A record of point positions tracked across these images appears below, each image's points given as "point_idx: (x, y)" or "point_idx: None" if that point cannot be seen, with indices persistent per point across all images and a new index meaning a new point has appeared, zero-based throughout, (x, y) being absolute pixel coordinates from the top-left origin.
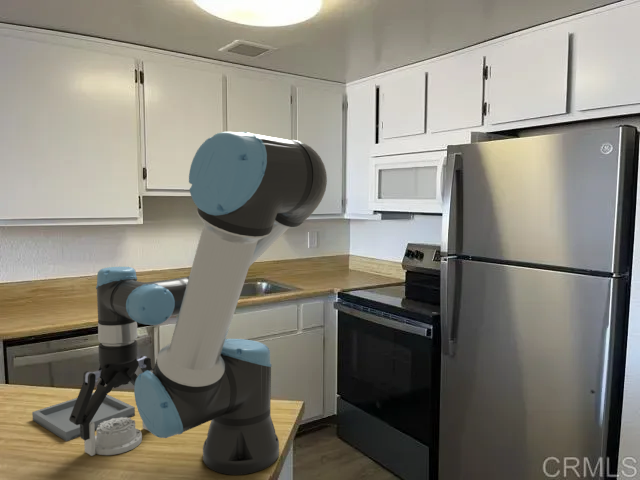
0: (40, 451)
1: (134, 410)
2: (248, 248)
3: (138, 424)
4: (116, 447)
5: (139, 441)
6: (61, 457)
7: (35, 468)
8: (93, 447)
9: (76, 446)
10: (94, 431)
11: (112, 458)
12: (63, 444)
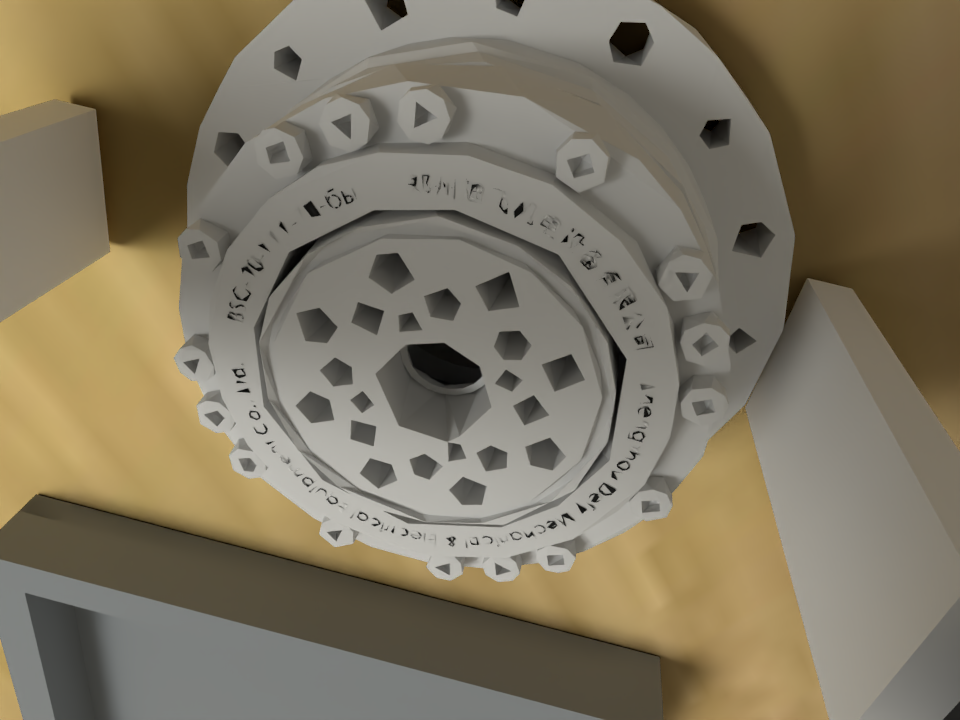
0: None
1: (4, 529)
2: None
3: (98, 353)
4: (675, 92)
5: None
6: None
7: None
8: (853, 327)
9: (699, 547)
10: (906, 460)
11: (809, 11)
12: (708, 645)
